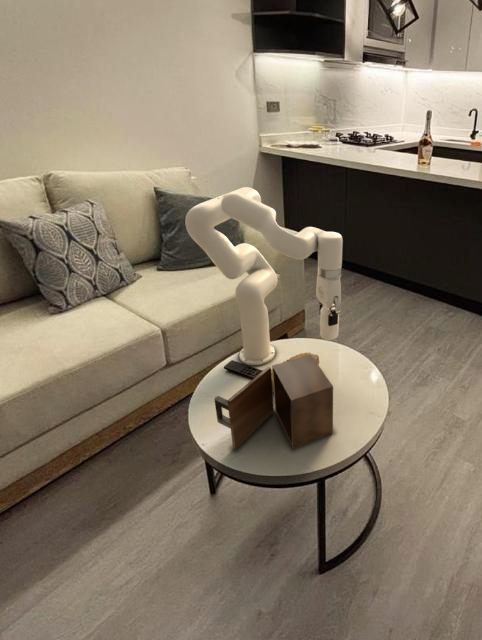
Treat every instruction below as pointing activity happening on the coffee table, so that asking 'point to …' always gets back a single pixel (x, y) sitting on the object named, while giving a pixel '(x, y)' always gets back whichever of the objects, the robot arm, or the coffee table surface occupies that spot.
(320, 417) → the cupboard
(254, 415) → the door
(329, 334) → the beverage can
